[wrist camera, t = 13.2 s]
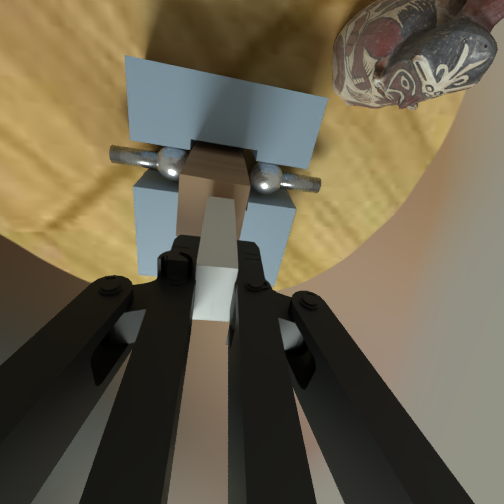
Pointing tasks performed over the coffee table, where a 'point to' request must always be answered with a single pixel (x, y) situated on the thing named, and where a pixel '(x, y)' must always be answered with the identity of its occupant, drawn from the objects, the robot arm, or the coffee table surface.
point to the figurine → (413, 50)
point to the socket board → (221, 132)
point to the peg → (211, 185)
